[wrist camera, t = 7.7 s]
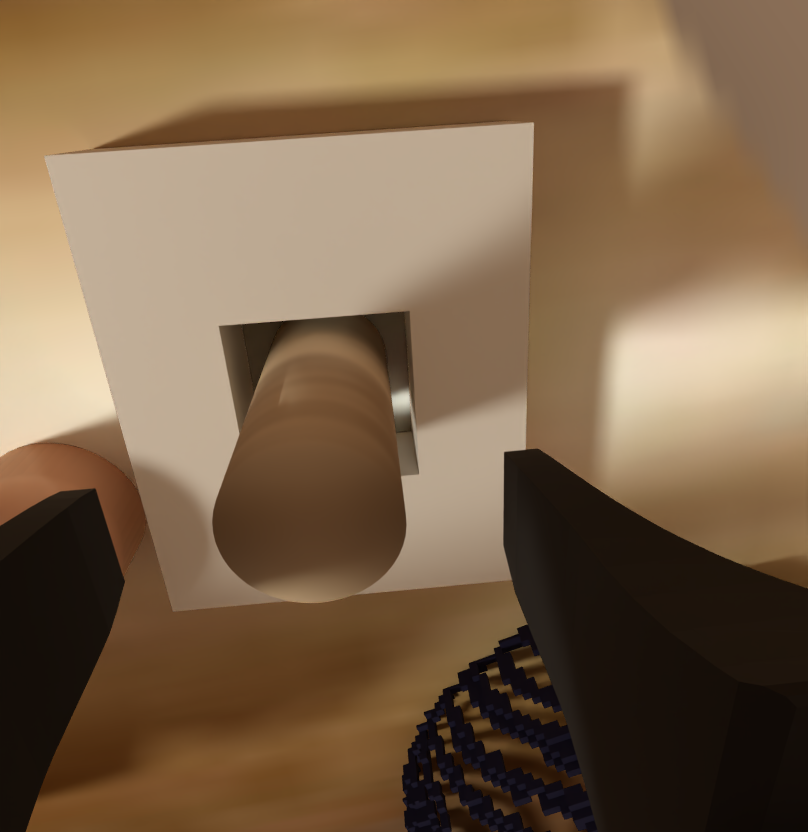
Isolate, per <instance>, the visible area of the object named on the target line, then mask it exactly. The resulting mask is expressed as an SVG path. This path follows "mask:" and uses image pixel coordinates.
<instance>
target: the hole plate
mask: <svg viewBox="0 0 808 832" xmlns="http://www.w3.org/2000/svg"><path fill="white" fill-rule="evenodd" d="M533 144H534V122H518V121H500V122H485V123H470V124H455V125H441V126H426V127H411V128H397V129H382V130H367V131H352V132H338V133H323V134H308V135H293V136H279V137H264V138H249V139H234V140H220V141H205V142H190V143H175V144H161V145H146V146H131V147H116V148H102V149H89V150H82V151H75V152H68V153H61V154H54V155H46V156H44V158H45V161H46V165H47V168H48V172H49V175H50V179H51V182H52V186H53V189H54V193H55V197H56V200H57V204H58V207H59V211H60V214H61V218H62V221H63V225H64V228H65V232H66V235H67V239H68V243H69V246H70V250H71V253H72V257H73V260H74V264H75V267H76V271H77V274H78V278H79V281H80V285H81V289H82V292H83V296H84V299H85V303H86V306H87V310H88V313H89V317H90V320H91V324H92V328H93V331H94V335H95V338H96V342H97V345H98V349H99V352H100V356H101V359H102V363H103V366H104V370H105V374H106V377H107V381H108V384H109V388H110V391H111V395H112V398H113V402H114V405H115V409H116V412H117V416H118V420H119V423H120V427H121V430H122V434H123V437H124V441H125V444H126V448H127V451H128V455H129V458H130V462H131V466H132V469H133V473H134V476H135V480H136V483H137V487H138V490H139V494H140V497H141V501H142V504H143V508H144V512H145V515H146V519H147V522H148V526H149V529H150V533H151V536H152V540H153V543H154V547H155V550H156V554H157V558H158V561H159V565H160V568H161V572H162V575H163V579H164V582H165V586H166V589H167V593H168V596H169V600H170V604H171V607H172V611H173V612H177V611H187V610H198V609H209V608H220V607H230V606H241V605H252V604H262V603H273V602H284V601H287V600H282V599H278V598H275V597H272V596H269V595H267V594H265V593H263V592H260V591H258V590H256V589H255V588H253V587H251V586H250V585H248V584H247V583H245V582H244V581H243V580H242V579H240V578H239V577H238V576H237V575H236V574H235V573H234V572H233V571H232V570H231V569H230V568H229V566H228V565H227V564H226V562H225V561H224V559H223V558H222V556H221V554H220V552H219V550H218V548H217V545H216V543H215V539H214V534H213V526H212V518H213V509H214V505H215V502H216V498H217V496H218V493H219V490H220V487H221V485H222V482H223V479H224V476H225V473H226V471H227V468H228V465H229V462H230V459H231V457H232V454H233V451H234V448H235V446H236V443H237V440H238V437H239V434H240V432H241V429H242V426H243V423H244V421H245V418H246V415H247V412H248V409H249V407H250V404H251V401H252V398H253V396H254V391H253V385H252V380H251V374H250V368H249V363H248V357H247V352H246V346H245V340H244V335H243V329H242V324H249V323H262V322H275V321H287V320H300V319H313V318H326V317H339V316H352V315H364V314H377V313H390V312H403V311H404V313H405V330H406V346H407V362H408V378H409V394H410V411H411V427H412V431H409V432H398V433H396V439H397V447H398V455H399V463H400V471H401V479H402V487H403V495H404V503H405V511H406V524H407V526H406V536H405V540H404V544H403V547H402V549H401V552H400V554H399V556H398V558H397V559H396V561H395V563H394V564H393V566H392V567H391V568H390V569H389V570H388V572H387V573H386V574H385V575H384V576H383V577H382V578H380V579H379V580H378V581H377V582H375V583H374V584H373V585H371V586H370V587H368V588H366V589H365V590H363V591H361V592H359V593H357V594H354V595H359V594H370V593H380V592H391V591H402V590H413V589H423V588H434V587H445V586H456V585H466V584H477V583H488V582H498V581H509V580H512V578H511V575H510V571H509V567H508V563H507V559H506V555H505V551H504V546H503V508H504V452H506V451H518V450H526V418H527V379H528V340H529V301H530V262H531V223H532V184H533Z"/></svg>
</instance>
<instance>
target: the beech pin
mask: <svg viewBox="0 0 808 832" xmlns="http://www.w3.org/2000/svg"><path fill="white" fill-rule="evenodd" d="M212 526H213V534H214V539H215V543H216V545H217V548H218V550H219V552H220V554H221V556H222V558H223V559H224V561H225V562H226V564H227V565H228V566H229V568H230V569H231V570H232V571H233V572H234V573H235V574H236V575H237V576H238V577H239V578H240V579H242V580H243V581H244V582H245V583H247V584H248V585H250V586H251V587H253V588H255V589H256V590H258V591H260V592H263V593H265V594H267V595H269V596H272V597H275V598H278V599H282V600H287V601H291V602H300V603H322V602H330V601H335V600H340V599H343V598H346V597H349V596H352V595H354V594H357V593H359V592H361V591H363V590H365V589H366V588H368V587H370V586H371V585H373V584H374V583H375V582H377V581H378V580H379V579H380V578H382V577H383V576H384V575H385V574H386V573H387V572H388V570H389V569H390V568H391V567H392V566H393V564H394V563H395V561H396V559H397V558H398V556H399V554H400V552H401V549H402V547H403V544H404V540H405V536H406V526H407V524H406V511H405V503H404V495H403V487H402V479H401V471H400V463H399V455H398V447H397V439H396V431H395V423H394V415H393V407H392V399H391V390H390V382H389V374H388V366H387V358H386V351H385V346H384V343H383V340H382V338H381V336H380V334H379V332H378V330H377V329H376V328H375V326H374V325H373V324H372V323H371V322H370V321H369V320H368V319H367V318H366V317H365V316H363V315H352V316H339V317H326V318H313V319H300V320H287V321H285V322H284V323H283V324H282V325H281V327H280V328H279V330H278V331H277V333H276V335H275V338H274V340H273V343H272V345H271V348H270V351H269V354H268V357H267V359H266V362H265V365H264V368H263V371H262V373H261V376H260V379H259V382H258V384H257V387H256V390H255V393H254V396H253V398H252V401H251V404H250V407H249V409H248V412H247V415H246V418H245V421H244V423H243V426H242V429H241V432H240V434H239V437H238V440H237V443H236V446H235V448H234V451H233V454H232V457H231V459H230V462H229V465H228V468H227V471H226V473H225V476H224V479H223V482H222V485H221V487H220V490H219V493H218V496H217V498H216V502H215V505H214V509H213V518H212Z"/></svg>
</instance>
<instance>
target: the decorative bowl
mask: <svg viewBox="0 0 808 832" xmlns="http://www.w3.org/2000/svg"><path fill="white" fill-rule="evenodd" d="M517 630H518V633H519V634H517V635H514V636H511V637H508V638H505V639H503V640H500V641H498V642H499V645H500V646H499V647H497V648H494V651H495V654H493V655H490V656H488V657H485V658H482V659H479V660H476V661H474V662H471V663H469V667H470V669H467V670H464V671H462V672H459V673H458V678H459V684H457V685H454V686H451V687H448V688H445V689H443V695H441V696H439V702H437V703H435V709H432V710H429V711H426V712H424V715H425V717H426V718H427V722H425V723H422V724H419V725H416V727H417V730H418V731H419V735H417V736H415V740H416V741H415V742H412V743H411V744H412V748H409V749H408V759H409V764H406V765H403V772H404V775H402V782H403V791H404V793H405V794H406V797H405V798H403V802H404V804H405V805H406V806H407V811H404V817H405V827H406V829H407V830H408V832H452V830H451V822H450V816H449V814H448V812H447V809H446V801H445V796H444V794H443V793H442V786H441V784H440V782H439V781H436V782H434V780H433V772H432V763H431V754H430V751H432V750H436V758H437V765H438V767H439V768H440V772H441V777H442V779H443V780H444V781H445V780H448V779H449V783H450V789H451V791H452V792H453V793H456V792H459V798H460V803H461V804H462V806H465V805H468V807H469V811H470V816H471V818H472V819H473V820H475V819H478V818H479V821H480V823H481V825H482V826H483V825H486V824H488V825H489V828H490V830H491V832H493V831H496V830H498V832H533V830H532V828H531V827H528V828H525V829H524V827H523V823H522V818H521V816H520V814H519V812H516V813H513V814H510V815H507V816H504V815H503V812H502V811H501V809H498V810H495V811H494V807H493V802H492V799H491V797H490V795H487V796H484V797H483V794H482V792H481V790H477V791H474V788H473V787H472V785H471V784H470V785H467V786H466V785H465V780H464V774H463V769H462V767H461V765H457V766H455V765H454V759H453V756H452V754H451V753H449V754H445V747H444V740H443V738H442V736H441V735H440V736H438V733H437V725H436V722H438V721H441V718H440V715H443V714H445V711H444V709H446V716H447V722H448V725H449V726H450V729H451V736H452V742H453V748H454V750H455V752H456V753H457V752H460V751H462V757H463V761H464V762H465V764H469V763H472V766H473V768H474V769H477V768H481V773H482V778H483V780H484V781H485V782H487V781H490V780H491V782H492V784H493V786H494V787H497V786H500V785H501V789H502V790H503V792H504V793H505V792H508V791H511V795H512V800H513V803H514V805H515V807H517V806H520V805H523V804H526V803H529V802H532V799H531V796H533V795H536V794H538V797H539V800H540V804H541V808H542V811H543V813H544V815H545V816H547V815H551V814H554V813H557V812H560V811H561V813H562V815H563V817H564V819H569V818H572V817H573V821H574V823H575V825H576V827H577V829H578V831H581V830H584V829H587V831H588V832H598V830H597V827H596V823H595V820H594V816H593V812H592V809H591V805H590V801H589V798H588V794H587V791H585V792H583V789H582V787H581V784H577V785H574V786H571V787H568V788H565V789H564V788H563V785H562V783H561V781H557V782H554V783H551V784H548V785H544V782H543V780H542V778H539V779H536V780H534V778H533V776H532V774H531V772H530V773H527V774H524V773H523V771H522V769H521V767H519V768H516V769H513V770H510V771H507V772H506V769H505V765H504V760H503V756H502V753H501V751H500V750H497V751H494V752H491V753H488V754H486V752H485V747H484V744H483V742H482V740H481V741H478V742H475V736H474V731H473V727H472V725H471V723H470V722H469V723H466V724H464V718H463V712H462V709H461V707H460V705H459V706H456V707H454V702H453V699H455V697H454V695H453V694H454V693H457V692H460V691H463V692H464V691H467V690H468V692H469V697H470V702H471V705H472V707H473V708H476V707H479V708H480V713H481V716H482V717H483V719H485V718H488V717H489V718H490V723H491V726H492V728H493V730H496V729H499V728H500V730H501V732H502V734H506V733H510V736H511V738H512V739H515V738H518V737H519V739H520V741H521V743H522V744H524V743H527V742H529V744H530V746H531V748H532V749H533V748H536V747H539V748H540V750H541V752H542V755H543V758H544V761H545V764H546V766H547V767H548V766H551V765H554V764H555V768H556V770H557V772H560V771H563V770H566V773H567V775H568V777H569V778H570V777H573V776H576V775H579V774H582V773H581V770H580V766H579V763H578V759H577V756H576V752H575V749H574V746H573V742H572V739H571V735H570V732H569V728H568V725H565V726H562V727H560V726H559V723H558V721H557V720H556V721H553V722H550V723H547V724H544V725H541V722H540V720H539V718H538V719H535V720H531V718H530V715H529V714H527V715H524V716H522V715H521V713H520V711H519V710H516V711H514V712H512V708H511V704H510V700H509V697H508V695H507V693H506V692H505V693H502V694H500V693H499V691H498V689H494V690H491V688H490V683H489V679H488V676H487V674H486V672H485V671H488V669H487V667H486V665H488V664H491V663H494V662H497V663H498V667H499V671H500V675H501V679H502V682H503V684H504V686H505V685H508V684H511V686H512V690H513V692H514V694H515V696H517V695H520V694H522V695H523V697H524V700H527V699H530V698H532V700H533V702H534V704H537V703H540V702H542V704H543V707H544V708H547V707H550V706H552V708H553V710H554V713H556V712H559V711H562V708H561V705H560V703H559V700H558V697H557V695H556V692H555V690H554V688H553V685H550V686H547V687H544V688H541V689H538V687H537V683H536V681H535V679H534V677H531V678H528V679H527V678H526V674H525V671H524V669H523V667H520V668H517V669H516V668H515V664H514V661H513V657H512V655H511V653H510V652H509V651H512V650H514V649H517V648H520V647H525V646H528V645H531V649H532V651H533V654H534V656H537V655H540V653H539V651H538V648H537V646H536V643H535V641H534V638H533V636H532V633H531V631H530V629H529V626H528V625H525V626H522V627H520V628H517ZM506 652H507V653H506ZM504 653H505V654H504ZM482 672H485V673H483V674H480V673H482ZM427 729H428V731H427ZM428 733H429V737H428ZM419 762H421V763H422V765H423V775H424V780H421V781H419V772H421V770H420V768H419V766H418V763H419ZM427 791H428V793H427ZM428 797H429V798H428ZM434 800H435V801H436V802H435V801H434ZM436 806H437V810H438V812H439V814H440V821H441V826H440V821H439V819H438V818H437V811H436ZM546 832H551V831H550V830H549V831H546Z"/></svg>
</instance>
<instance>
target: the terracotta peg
mask: <svg viewBox="0 0 808 832" xmlns="http://www.w3.org/2000/svg"><path fill="white" fill-rule="evenodd" d="M92 488H96V491H97V494H98V498H99V501H100V504H101V507H102V510H103V513H104V517H105V520H106V523H107V526H108V529H109V533H110V536H111V539H112V542H113V545H114V549H115V552H116V555H117V558H118V561H119V564H120V568H121V571H122V574H123V577H124V575H125V573H126V571H127V569H128V567H129V565H130V563H131V561H132V559H133V557H134V555H135V553H136V551H137V549H138V547H139V545H140V543H141V541H142V539H143V536H144V533H145V526H146V515H145V512H144V508H143V504H142V501H141V497H140V495H139V493H138V491H137V489H136V488H135V486H134V485H133V484H132V482H131V481H130V480H129V479H128V478H127V476H126V475H125V474H124V473H123V472H122V471H120V470H119V469H118V468H117V467H116V466H115V465H113V464H112V463H110V462H109V461H107V460H106V459H104V458H102V457H100V456H99V455H97V454H95V453H92V452H90V451H87V450H85V449H82V448H78V447H75V446H71V445H65V444H57V443H38V444H31V445H26V446H23V447H19V448H17V449H14V450H12V451H9V452H8V453H6V454H4V455H3V456H1V457H0V526H1V525H2V524H4V523H5V522H7V521H9V520H10V519H12V518H13V517H15V516H17V515H18V514H20V513H21V512H23V511H25V510H26V509H28V508H30V507H31V506H33V505H35V504H37V503H38V502H40V501H42V500H44V499H46V498H47V497H49V496H51V495H54V494H56V493H58V492H60V491H70V490H81V489H92Z"/></svg>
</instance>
